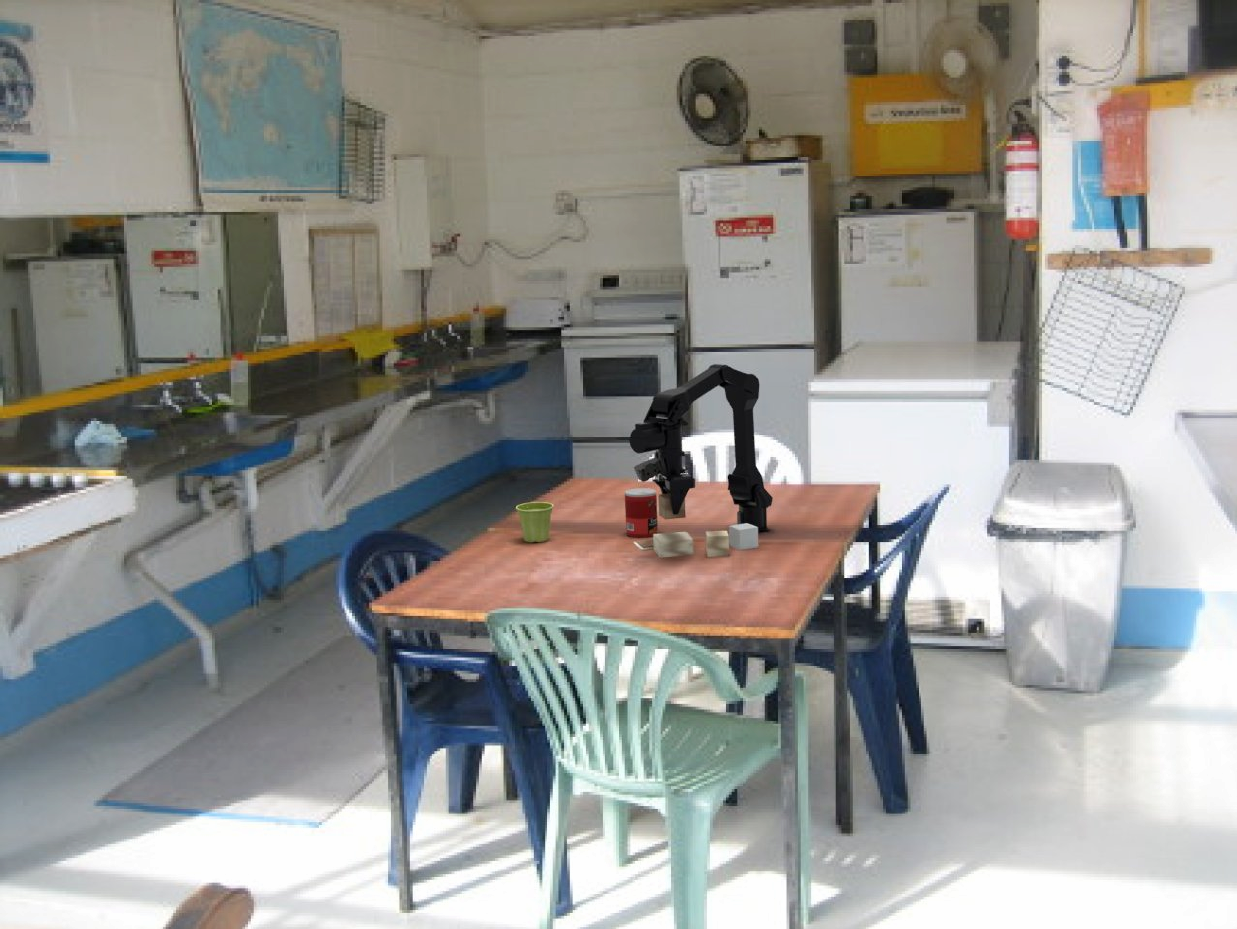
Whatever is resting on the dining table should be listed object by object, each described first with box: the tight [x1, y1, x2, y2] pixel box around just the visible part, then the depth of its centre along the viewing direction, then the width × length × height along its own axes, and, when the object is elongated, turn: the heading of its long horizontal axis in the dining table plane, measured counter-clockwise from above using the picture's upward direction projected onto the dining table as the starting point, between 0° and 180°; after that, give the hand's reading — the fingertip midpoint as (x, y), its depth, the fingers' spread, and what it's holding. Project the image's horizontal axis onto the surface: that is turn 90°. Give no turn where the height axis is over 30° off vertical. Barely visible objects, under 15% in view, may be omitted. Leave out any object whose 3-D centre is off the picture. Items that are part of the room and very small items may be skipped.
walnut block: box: [657, 493, 687, 521], centre depth 313 cm, size 5×5×5 cm
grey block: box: [728, 523, 759, 551], centre depth 316 cm, size 5×5×5 cm
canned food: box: [624, 487, 659, 538], centre depth 332 cm, size 8×8×11 cm
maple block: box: [705, 530, 730, 558], centre depth 311 cm, size 5×5×5 cm
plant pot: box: [515, 501, 555, 543], centre depth 331 cm, size 9×9×9 cm
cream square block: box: [652, 531, 694, 558], centre depth 314 cm, size 8×8×4 cm
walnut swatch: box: [633, 539, 654, 551], centre depth 321 cm, size 7×7×1 cm
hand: (672, 512), depth 313 cm, fingers closed on walnut block, 5 cm apart
